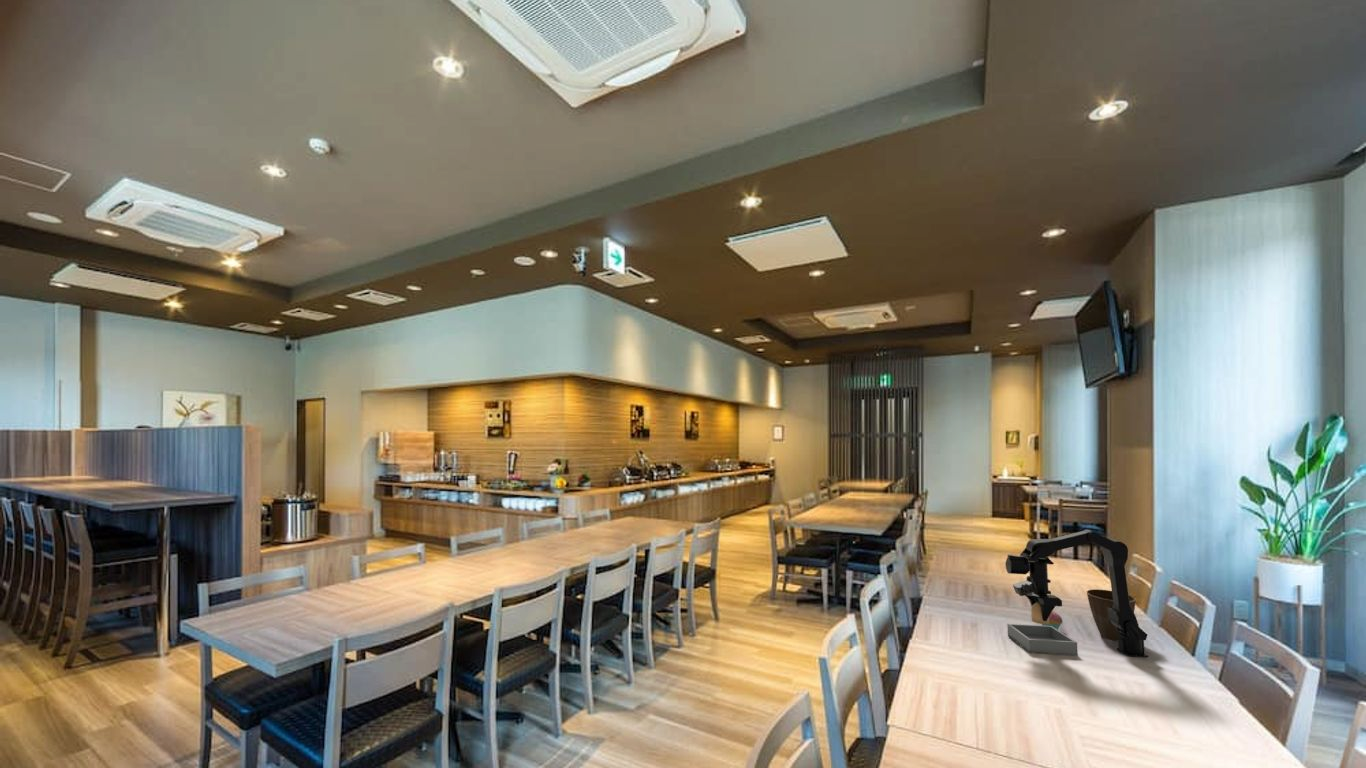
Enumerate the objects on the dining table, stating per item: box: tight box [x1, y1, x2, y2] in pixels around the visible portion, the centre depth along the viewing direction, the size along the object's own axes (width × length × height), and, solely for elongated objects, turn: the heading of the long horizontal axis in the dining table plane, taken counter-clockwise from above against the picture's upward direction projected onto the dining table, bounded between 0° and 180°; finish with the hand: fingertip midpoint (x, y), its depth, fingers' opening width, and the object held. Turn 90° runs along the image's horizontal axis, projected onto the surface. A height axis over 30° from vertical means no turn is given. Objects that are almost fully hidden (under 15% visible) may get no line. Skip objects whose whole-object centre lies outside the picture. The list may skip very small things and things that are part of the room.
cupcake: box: [1041, 611, 1063, 630], centre depth 215 cm, size 9×8×12 cm
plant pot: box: [1086, 588, 1137, 642], centre depth 208 cm, size 15×15×16 cm
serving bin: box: [1006, 623, 1079, 656], centre depth 199 cm, size 16×16×4 cm
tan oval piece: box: [1030, 603, 1049, 625], centre depth 200 cm, size 5×5×7 cm
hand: (1040, 618), depth 200 cm, fingers closed on tan oval piece, 5 cm apart
